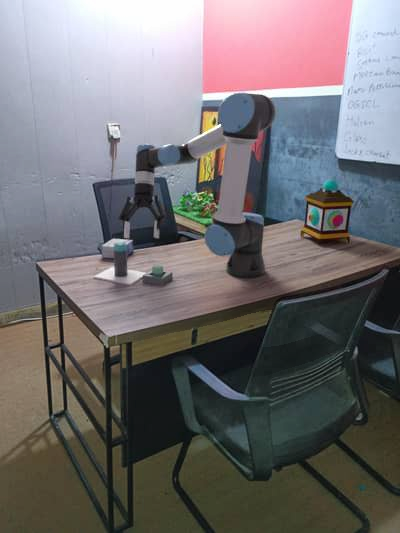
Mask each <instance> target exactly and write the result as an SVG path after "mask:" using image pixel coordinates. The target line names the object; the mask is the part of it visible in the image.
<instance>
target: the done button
mask: <svg viewBox="0 0 400 533" xmlns="http://www.w3.org/2000/svg"><path fill="white" fill-rule="evenodd" d="M151 270H152V275H153V276H159V277H160V276H162V275H163V270H164V266H163V265H158V264H157V265H152V266H151Z"/></svg>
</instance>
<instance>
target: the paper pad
mask: <svg viewBox="0 0 400 533" xmlns="http://www.w3.org/2000/svg"><path fill="white" fill-rule="evenodd" d="M127 270H128V275H127V276H125V277H117V276H115V272H114V266H110V267H109V268H107V269H106V270H103V271H101V272H99V273H97V274H95V275H94V276H93V278H94V279H96V280H102V281H107V282H113V283H118V284H122V285H127V286H132V285H134V284H135V283H137V282H138V281H139V282H140V280H143V275H144V274H146V273H147V272H144V271H139V270H138V271H137V270H132V269H127Z"/></svg>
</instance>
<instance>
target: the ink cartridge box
mask: <svg viewBox="0 0 400 533" xmlns="http://www.w3.org/2000/svg"><path fill="white" fill-rule="evenodd" d="M118 242H123V243H126V250H127V257H128V256H130V254H131V253H133V252H134V240H133V239H123V238H122V239H121V238H111V239H110V240H108V241H107V242H105V243H103V244H102V245H101V246H100V248H101V249H100V250H101V258H103V259H113V260H114V243H118Z"/></svg>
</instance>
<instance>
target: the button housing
mask: <svg viewBox="0 0 400 533" xmlns="http://www.w3.org/2000/svg"><path fill="white" fill-rule="evenodd" d="M145 273H146V274H144V275H143V278H142V282H143V283H147V284H153V285H158V286H164V285H165V284H166V283H168V282H170V280H172V279H173V271H169V270H164V269H163V275H162V276H160V277H159V276H153V275H152V269H151V270H149V271H147V272H145Z"/></svg>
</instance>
